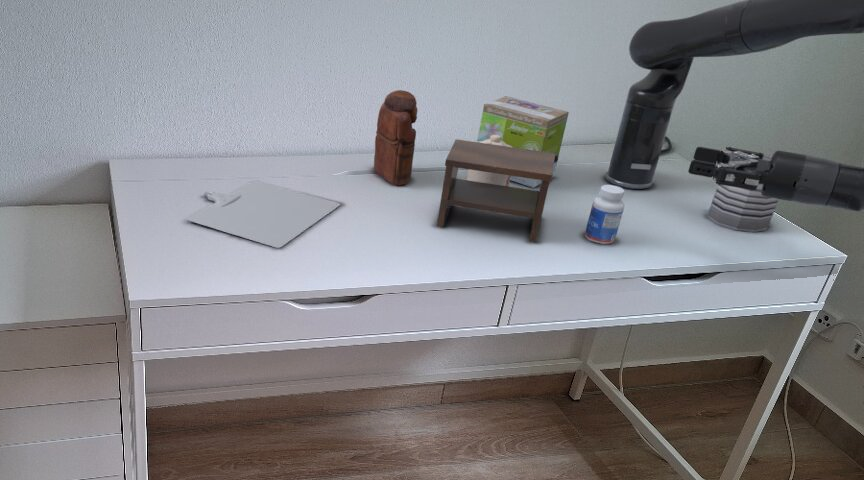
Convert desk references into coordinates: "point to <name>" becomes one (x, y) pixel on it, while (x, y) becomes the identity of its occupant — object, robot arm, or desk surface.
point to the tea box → (524, 128)
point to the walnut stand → (491, 194)
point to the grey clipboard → (263, 213)
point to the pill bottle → (605, 215)
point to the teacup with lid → (487, 176)
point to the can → (742, 207)
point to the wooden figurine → (396, 137)
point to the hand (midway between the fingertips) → (692, 159)
